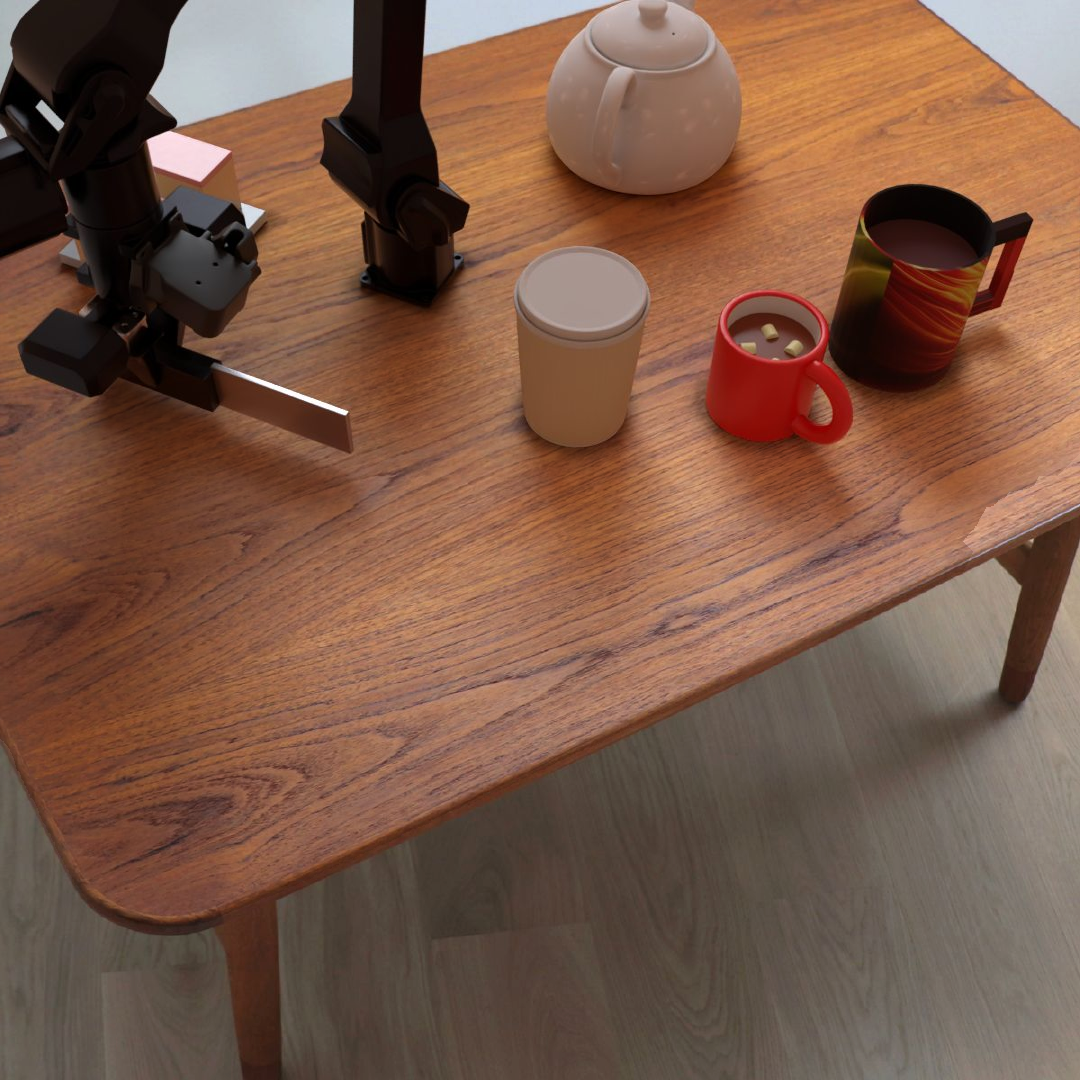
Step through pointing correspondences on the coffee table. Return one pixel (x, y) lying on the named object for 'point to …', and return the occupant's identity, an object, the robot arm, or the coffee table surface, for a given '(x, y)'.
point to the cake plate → (190, 177)
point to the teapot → (644, 99)
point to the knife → (245, 396)
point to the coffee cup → (579, 342)
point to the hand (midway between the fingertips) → (162, 373)
